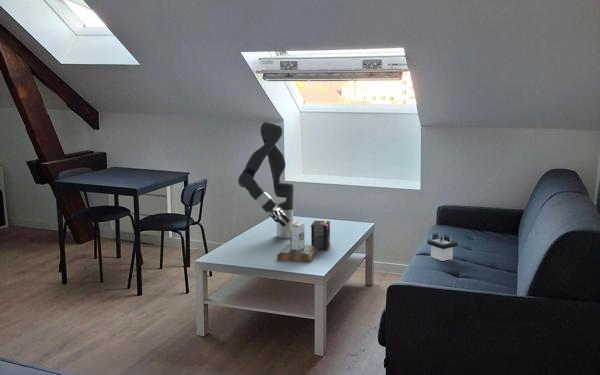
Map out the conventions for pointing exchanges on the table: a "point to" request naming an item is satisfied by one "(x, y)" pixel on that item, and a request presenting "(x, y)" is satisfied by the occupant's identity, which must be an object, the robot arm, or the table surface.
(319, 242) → the tampon box
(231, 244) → the table surface
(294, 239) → the syrup box
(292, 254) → the brown wooden flat block
